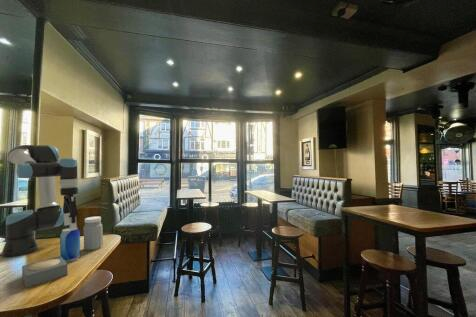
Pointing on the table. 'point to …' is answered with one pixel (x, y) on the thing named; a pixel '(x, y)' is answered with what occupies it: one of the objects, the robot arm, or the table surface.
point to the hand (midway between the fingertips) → (70, 227)
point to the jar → (93, 233)
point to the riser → (43, 271)
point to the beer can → (70, 244)
